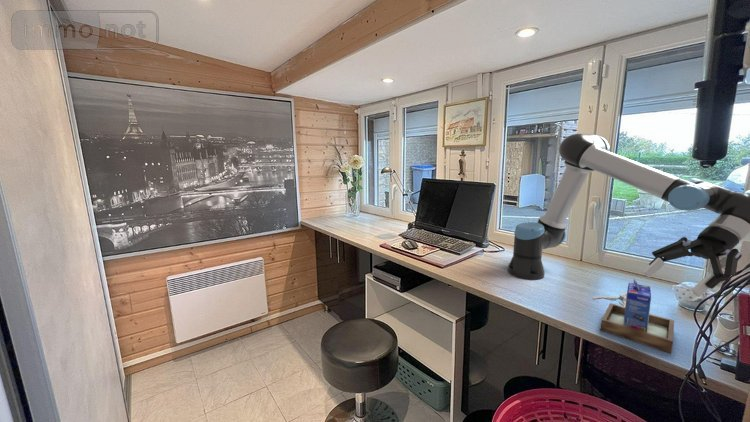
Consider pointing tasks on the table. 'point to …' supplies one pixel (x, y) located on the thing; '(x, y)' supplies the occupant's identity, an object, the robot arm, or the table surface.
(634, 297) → the ink cartridge box
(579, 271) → the table surface
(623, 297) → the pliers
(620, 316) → the wooden tray
